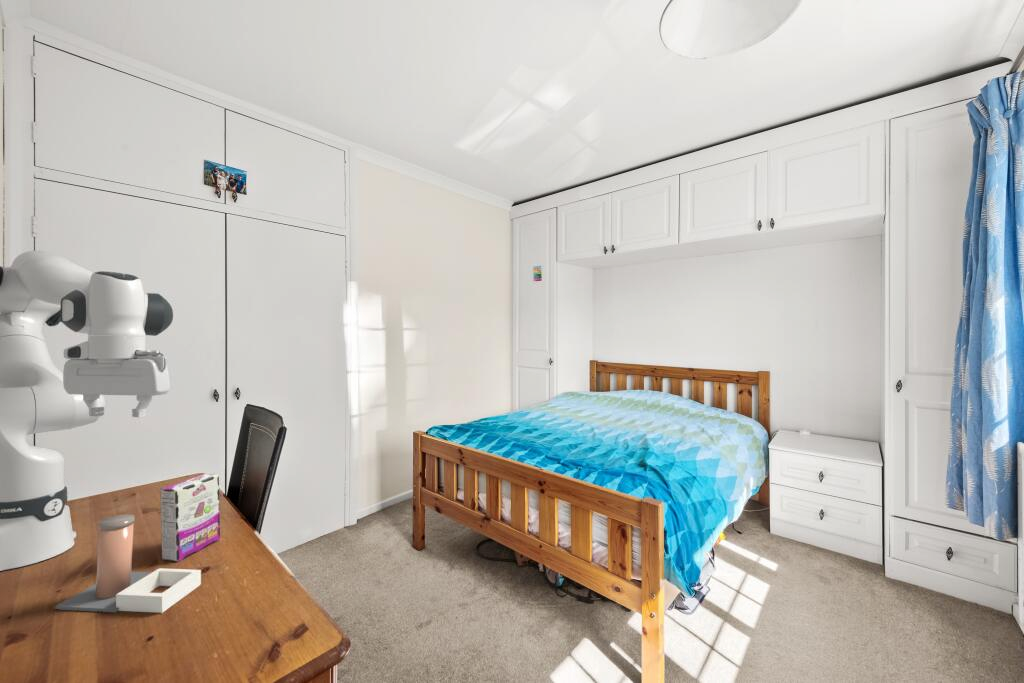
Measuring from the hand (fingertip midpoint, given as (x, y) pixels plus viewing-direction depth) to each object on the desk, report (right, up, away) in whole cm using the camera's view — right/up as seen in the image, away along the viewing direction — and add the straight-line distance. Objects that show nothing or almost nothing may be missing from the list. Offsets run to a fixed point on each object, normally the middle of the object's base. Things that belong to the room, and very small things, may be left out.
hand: (117, 416), depth 89 cm
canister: (+4, -34, -5) cm, 34 cm away
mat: (+4, -34, -4) cm, 35 cm away
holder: (+13, -34, -6) cm, 37 cm away
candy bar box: (+6, -34, +13) cm, 37 cm away
